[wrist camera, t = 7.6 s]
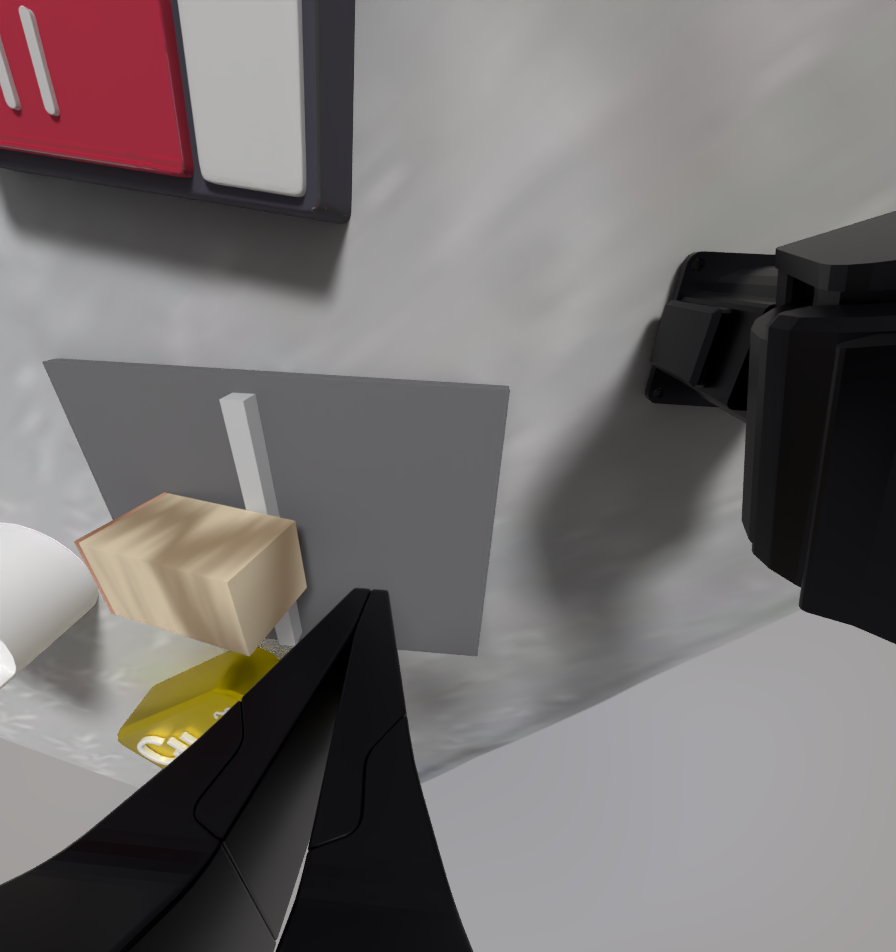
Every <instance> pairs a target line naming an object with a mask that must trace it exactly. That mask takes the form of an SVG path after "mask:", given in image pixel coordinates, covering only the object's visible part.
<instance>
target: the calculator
mask: <svg viewBox="0 0 896 952" xmlns="http://www.w3.org/2000/svg"><path fill="white" fill-rule="evenodd" d="M354 34H355V0H0V167H1V168H6V169H10V170H15V171H21V172H26V173H32V174H39V175H45V176H51V177H57V178H63V179H69V180H76V181H82V182H88V183H94V184H100V185H107V186H113V187H119V188H125V189H132V190H138V191H144V192H150V193H156V194H163V195H169V196H175V197H181V198H188V199H194V200H200V201H206V202H212V203H219V204H225V205H231V206H237V207H243V208H248V209H254V210H260V211H265V212H271V213H277V214H284V215H290V216H296V217H302V218H308V219H314V220H320V221H327V222H333V223H346V222H347V221H348V220H349V219H350V216H351V200H352V145H353V89H354Z"/></svg>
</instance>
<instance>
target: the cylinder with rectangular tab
mask: <svg viewBox="0 0 896 952" xmlns="http://www.w3.org/2000/svg"><path fill="white" fill-rule="evenodd" d="M97 599H98V587H97V585H96V583H95V581H94V579H93V577H92V575H91V573H90V571H89V569H88V568H87V567H86V565H85V564H84V563H83V561H82V560H80V559H79V558H78V557H77V556H76V555H75V554H74V553H73V552H72V551H70V550H69V549H68V548H67V547H65V546H63V545H62V544H60V543H59V542H57V541H56V540H54V539H53V538H51V537H49V536H47V535H45V534H42V533H40V532H38V531H36V530H34V529H30V528H27V527H24V526H20V525H17V524H9V523H1V522H0V689H1V688H2V687H4V686H5V685H6V684H7V683H8V682H9V681H10V680H11V679H13V678H14V677H15V676H16V675H17V674H18V673H19V672H20V671H22V670H23V669H24V668H25V667H26V666H27V665H28V664H29V663H31V662H32V661H33V660H34V659H35V658H36V657H37V656H38V655H40V654H41V653H42V652H43V651H44V650H45V649H46V648H47V647H49V646H50V645H51V644H52V643H53V642H54V641H55V640H56V639H58V638H59V637H60V636H61V635H62V634H63V633H64V632H65V631H67V630H68V629H69V628H70V627H71V626H72V625H73V624H74V623H76V622H77V621H78V620H79V619H80V618H81V617H82V616H83V615H85V614H86V613H87V612H88V611H89V610H90V609H91V608H92V607H93V606H94V605H95V604H96V602H97Z"/></svg>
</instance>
